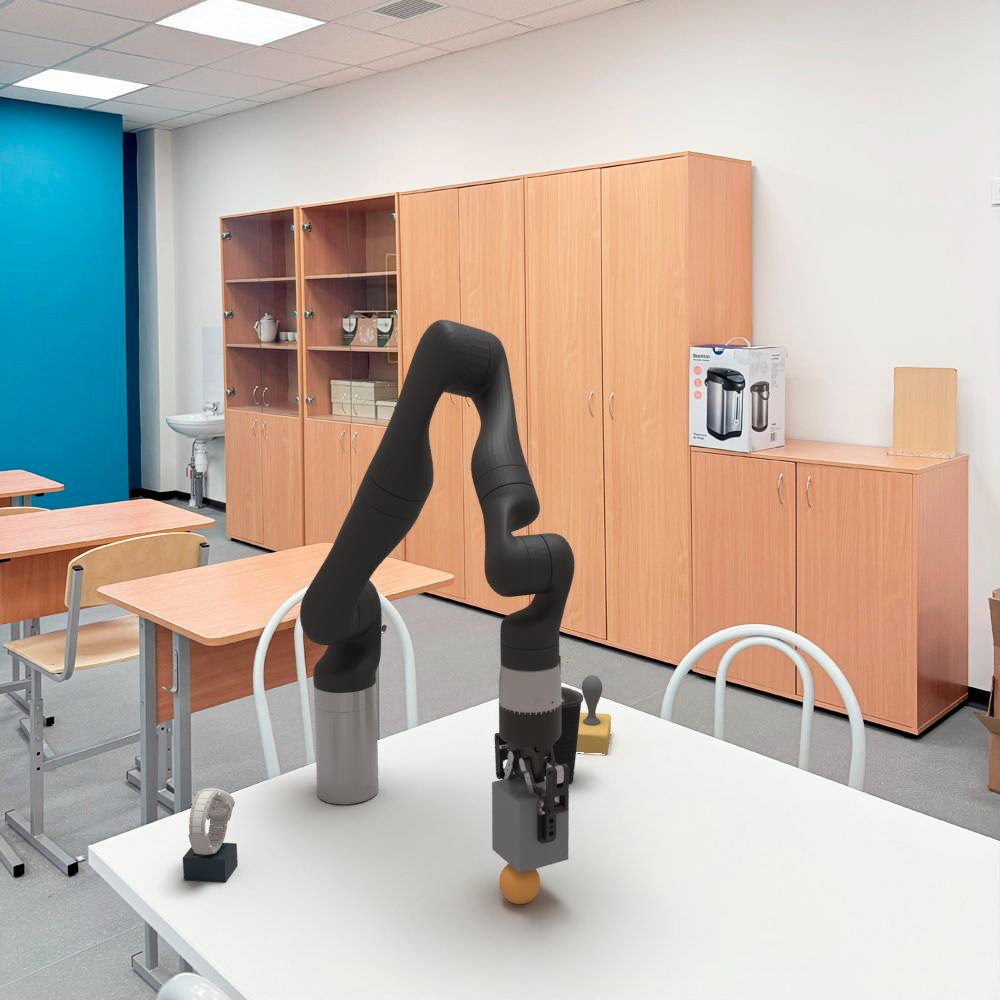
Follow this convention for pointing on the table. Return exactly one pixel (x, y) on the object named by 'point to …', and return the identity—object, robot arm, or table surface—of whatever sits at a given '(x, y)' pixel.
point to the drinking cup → (568, 728)
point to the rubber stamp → (593, 720)
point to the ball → (519, 884)
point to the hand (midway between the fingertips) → (530, 828)
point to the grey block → (524, 827)
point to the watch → (210, 838)
